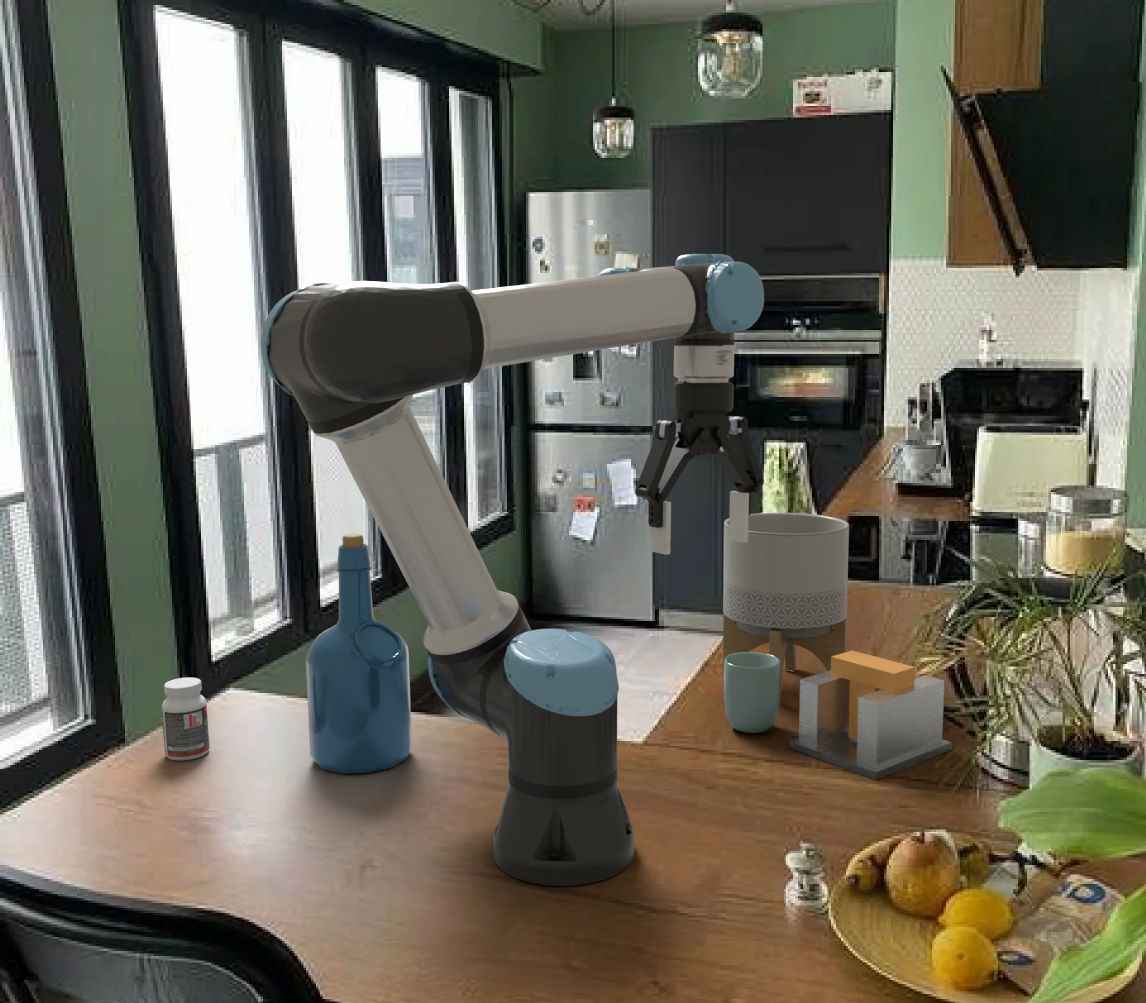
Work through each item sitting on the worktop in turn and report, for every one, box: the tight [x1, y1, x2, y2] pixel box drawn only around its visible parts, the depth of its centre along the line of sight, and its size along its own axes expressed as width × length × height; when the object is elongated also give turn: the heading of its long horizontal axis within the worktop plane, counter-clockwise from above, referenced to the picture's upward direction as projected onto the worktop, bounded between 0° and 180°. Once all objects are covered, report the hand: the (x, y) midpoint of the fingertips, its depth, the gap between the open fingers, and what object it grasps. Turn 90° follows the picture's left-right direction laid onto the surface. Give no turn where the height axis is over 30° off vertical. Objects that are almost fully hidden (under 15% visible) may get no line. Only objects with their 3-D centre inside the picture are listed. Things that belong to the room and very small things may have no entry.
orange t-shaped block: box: [831, 649, 916, 740], centre depth 150 cm, size 4×10×10 cm, turn 38°
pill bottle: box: [161, 677, 210, 762], centre depth 151 cm, size 6×6×10 cm
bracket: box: [788, 670, 952, 781], centre depth 150 cm, size 16×14×10 cm
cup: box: [723, 651, 780, 734], centre depth 158 cm, size 8×8×10 cm
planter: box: [722, 512, 850, 705], centre depth 176 cm, size 19×19×26 cm
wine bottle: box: [305, 533, 413, 774], centre depth 148 cm, size 14×13×30 cm
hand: (700, 547), depth 145 cm, fingers open, 13 cm apart
